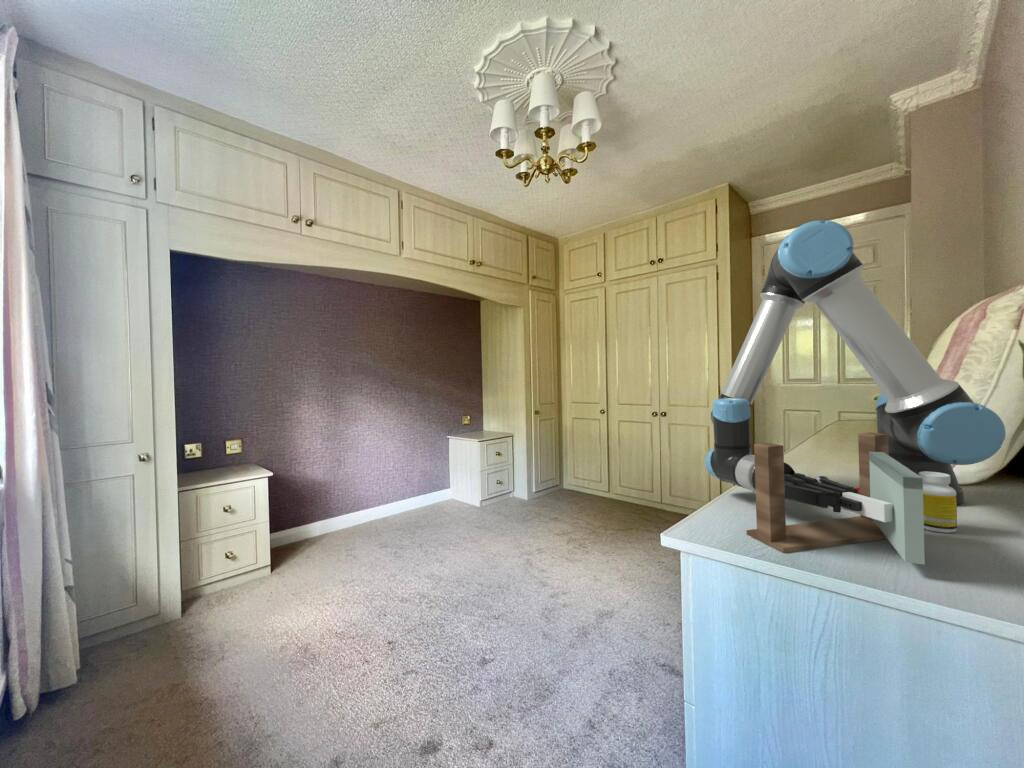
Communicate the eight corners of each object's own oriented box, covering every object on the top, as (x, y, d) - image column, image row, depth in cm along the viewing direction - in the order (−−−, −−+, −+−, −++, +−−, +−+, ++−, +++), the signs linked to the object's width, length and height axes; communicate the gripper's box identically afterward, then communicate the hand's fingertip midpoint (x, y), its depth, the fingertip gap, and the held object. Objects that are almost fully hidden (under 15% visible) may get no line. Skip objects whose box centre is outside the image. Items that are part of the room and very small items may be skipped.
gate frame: (870, 518, 80) (868, 432, 79) (918, 534, 72) (916, 437, 71) (746, 534, 74) (743, 441, 74) (783, 552, 67) (780, 449, 66)
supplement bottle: (966, 534, 71) (965, 477, 71) (929, 533, 72) (928, 477, 72) (940, 523, 76) (939, 470, 76) (906, 522, 77) (905, 470, 77)
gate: (870, 517, 75) (869, 451, 75) (885, 518, 74) (883, 452, 74) (905, 561, 58) (902, 476, 58) (924, 564, 57) (922, 478, 57)
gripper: (793, 491, 86) (924, 533, 63) (738, 497, 84) (852, 542, 61) (792, 456, 86) (922, 484, 63) (737, 460, 84) (851, 491, 61)
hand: (888, 512), depth 62 cm, fingers closed
